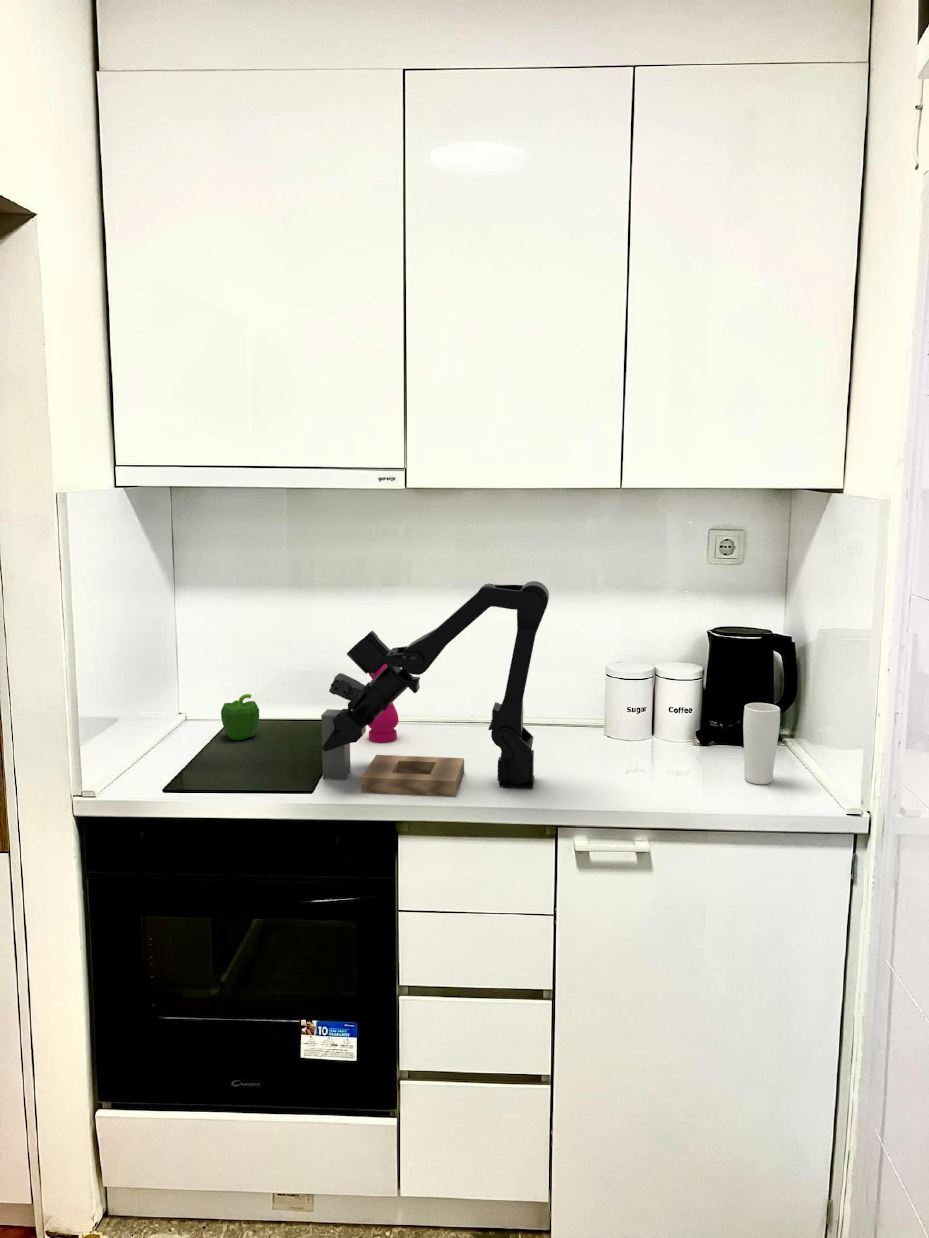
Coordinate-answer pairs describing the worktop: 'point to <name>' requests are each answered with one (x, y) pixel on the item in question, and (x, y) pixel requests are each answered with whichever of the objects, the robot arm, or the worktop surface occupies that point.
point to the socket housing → (413, 775)
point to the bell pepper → (240, 718)
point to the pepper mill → (384, 721)
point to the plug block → (334, 751)
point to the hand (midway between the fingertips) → (329, 743)
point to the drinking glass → (760, 741)
